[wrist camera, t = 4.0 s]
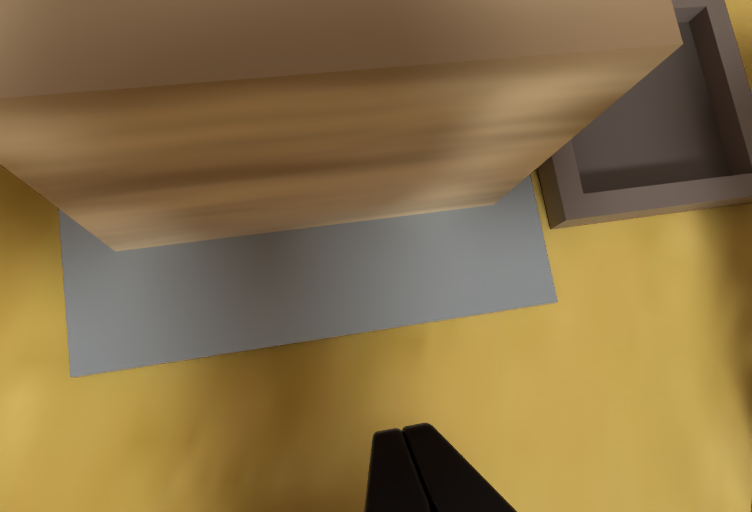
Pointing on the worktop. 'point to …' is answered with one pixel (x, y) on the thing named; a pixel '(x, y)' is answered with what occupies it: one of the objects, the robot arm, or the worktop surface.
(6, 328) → the worktop surface
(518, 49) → the oak block
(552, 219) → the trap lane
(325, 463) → the worktop surface
